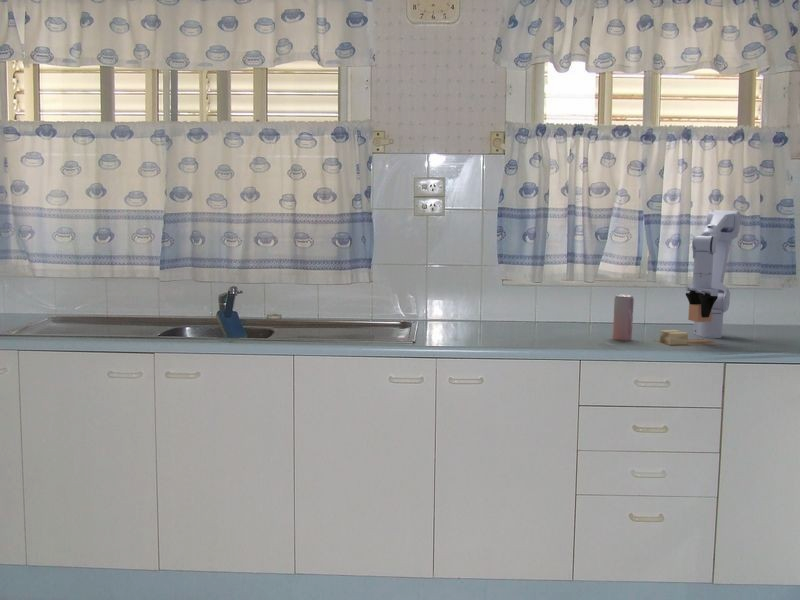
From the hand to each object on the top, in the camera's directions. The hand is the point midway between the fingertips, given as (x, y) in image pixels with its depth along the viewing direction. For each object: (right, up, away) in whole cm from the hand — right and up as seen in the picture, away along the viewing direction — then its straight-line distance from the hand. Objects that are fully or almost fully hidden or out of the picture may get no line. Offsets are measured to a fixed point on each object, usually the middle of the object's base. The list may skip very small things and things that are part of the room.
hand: (700, 316), depth 264 cm
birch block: (-9, -8, -1) cm, 12 cm away
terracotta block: (0, -2, 0) cm, 2 cm away
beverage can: (-24, -9, +5) cm, 26 cm away
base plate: (-4, -9, 0) cm, 10 cm away
